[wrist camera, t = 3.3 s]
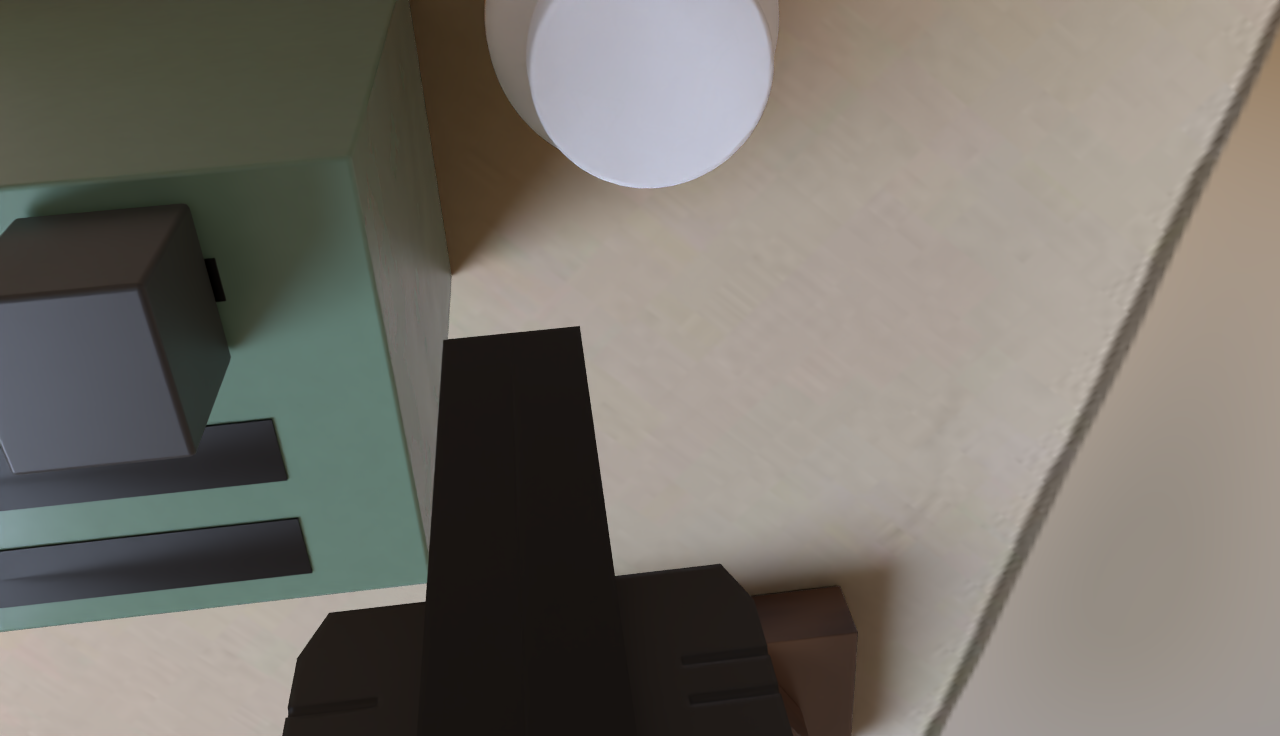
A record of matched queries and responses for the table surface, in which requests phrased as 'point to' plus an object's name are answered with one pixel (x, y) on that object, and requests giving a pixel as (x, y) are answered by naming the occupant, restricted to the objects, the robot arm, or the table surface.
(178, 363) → the slider
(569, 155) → the supplement bottle
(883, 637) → the table surface
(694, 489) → the table surface
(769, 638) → the button block
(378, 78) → the toaster
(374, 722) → the robot arm
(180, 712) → the table surface
